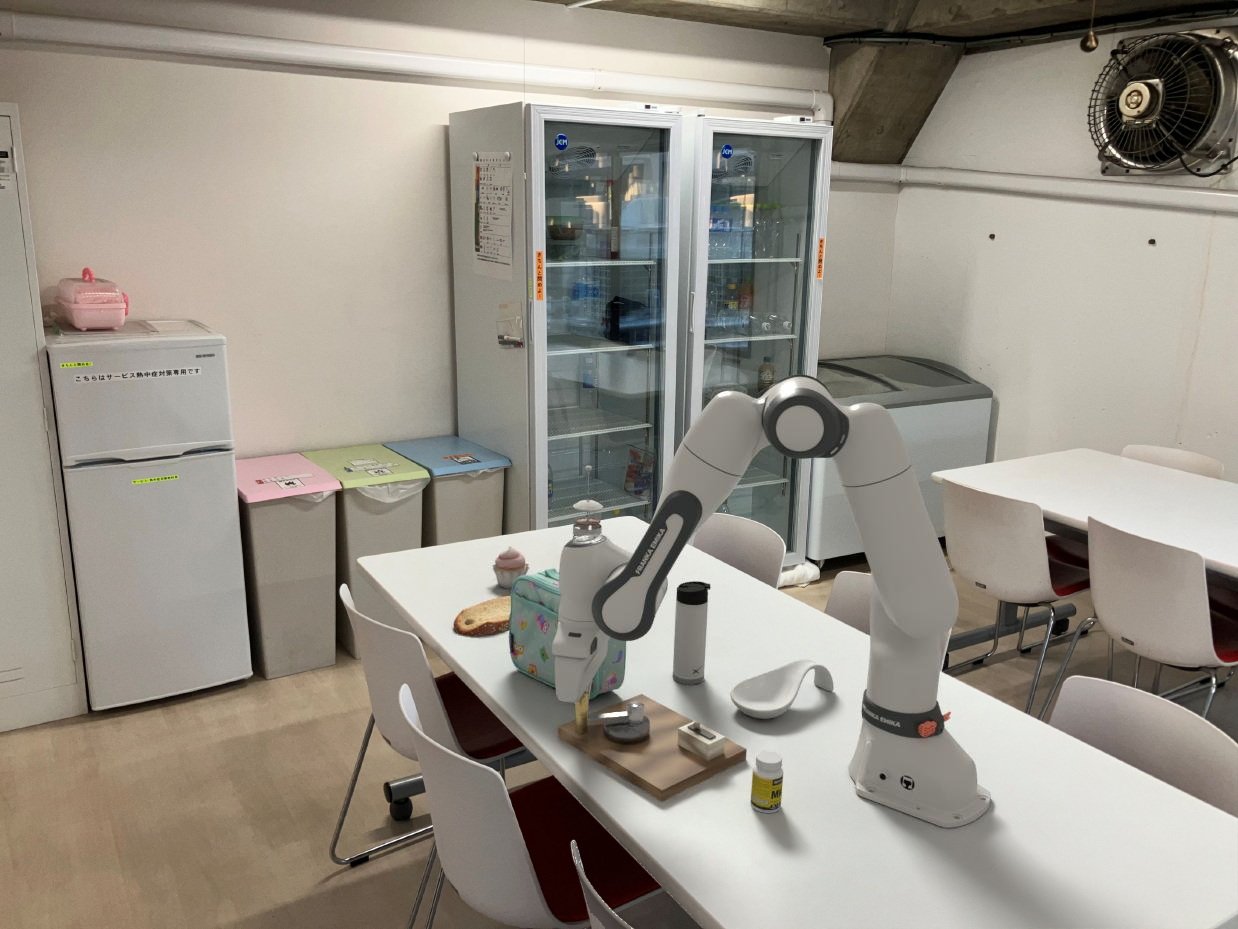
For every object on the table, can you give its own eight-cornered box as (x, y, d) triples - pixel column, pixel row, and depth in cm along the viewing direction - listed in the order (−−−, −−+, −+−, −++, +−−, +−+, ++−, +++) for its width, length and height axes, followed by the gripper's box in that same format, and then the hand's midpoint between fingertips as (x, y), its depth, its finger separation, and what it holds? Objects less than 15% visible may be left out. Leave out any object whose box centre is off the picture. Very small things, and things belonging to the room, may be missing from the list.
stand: (745, 759, 167) (748, 724, 166) (661, 801, 154) (663, 764, 153) (641, 703, 186) (642, 671, 185) (558, 737, 173) (558, 703, 172)
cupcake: (509, 575, 253) (509, 538, 250) (536, 583, 247) (537, 545, 245) (483, 585, 245) (483, 547, 243) (511, 594, 240) (511, 554, 238)
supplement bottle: (773, 817, 151) (777, 768, 149) (745, 807, 154) (748, 758, 152) (785, 803, 155) (789, 754, 153) (758, 793, 157) (761, 745, 156)
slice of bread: (524, 603, 235) (524, 588, 234) (537, 633, 218) (537, 617, 217) (448, 608, 231) (448, 593, 230) (455, 639, 214) (455, 623, 213)
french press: (565, 558, 267) (566, 468, 261) (574, 545, 278) (576, 459, 272) (601, 561, 265) (603, 471, 259) (608, 548, 276) (611, 461, 271)
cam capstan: (642, 719, 176) (644, 677, 174) (654, 741, 168) (656, 698, 166) (570, 726, 173) (571, 684, 171) (579, 749, 165) (580, 705, 163)
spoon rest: (762, 734, 177) (764, 697, 175) (716, 709, 186) (718, 673, 184) (847, 698, 191) (850, 664, 189) (801, 676, 200) (803, 643, 198)
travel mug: (703, 686, 194) (708, 590, 189) (670, 683, 195) (674, 587, 190) (707, 673, 200) (712, 579, 195) (675, 669, 201) (679, 576, 196)
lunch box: (498, 666, 200) (498, 566, 195) (536, 652, 208) (537, 555, 203) (592, 711, 183) (595, 603, 178) (630, 694, 190) (633, 589, 185)
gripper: (583, 604, 178) (581, 674, 181) (548, 649, 159) (547, 727, 162) (616, 607, 176) (615, 679, 180) (586, 654, 157) (585, 733, 160)
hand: (583, 702), depth 171 cm, fingers closed
